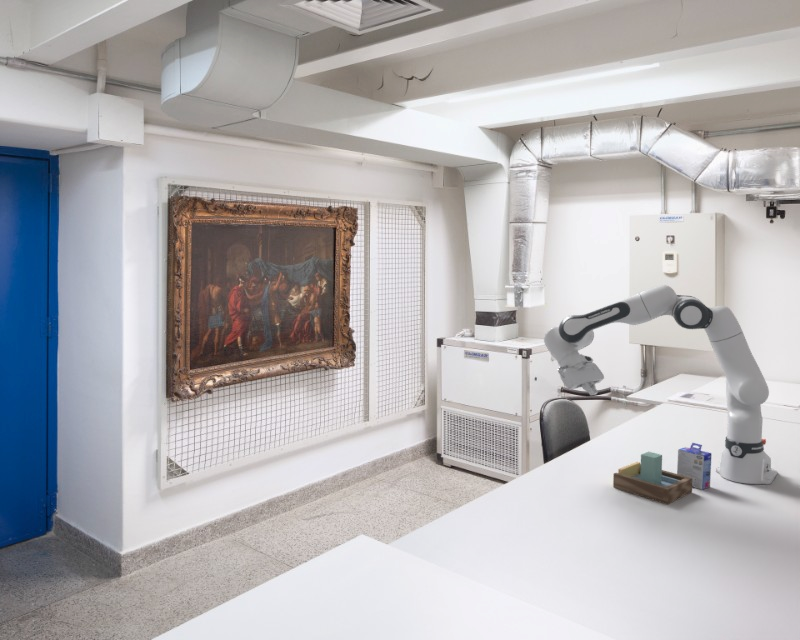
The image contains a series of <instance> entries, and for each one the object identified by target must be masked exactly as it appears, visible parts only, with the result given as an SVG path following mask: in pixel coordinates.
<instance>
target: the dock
mask: <svg viewBox="0 0 800 640" xmlns="http://www.w3.org/2000/svg"><path fill="white" fill-rule="evenodd" d="M640 472H641V463H640ZM662 475H663V476H666V477H670V478H674V479H677V480H680V481H678V482H676V483H674V484H671V485H669V486H667V487H664V486H661V485H657V484H654V483H650V482H647V481H643V480H640V479H637V478H633V477H630V476H626V475H623V474H619V473H618V472H614V473H613V479H612V480H613V481H612V482H613V483H612V486H613V488H614V489H617V490H620V491H624V492H626V493H630V494H633V495H636V496H640V497H643V498H646V499H649V500H652V501H656V502H660V503H662V504H665V505H669V504H671V503H673V502H675V501H677V500H680V499H682V498H684V497H686V496H687V495H689V494H691V493H693V487H692V478H690V477H686V476H683V475H679V474H677V473H675V472H672V471H667V470H663V469H662Z"/></svg>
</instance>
